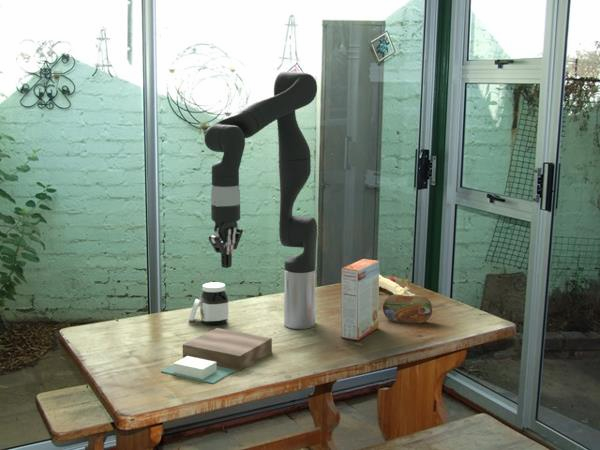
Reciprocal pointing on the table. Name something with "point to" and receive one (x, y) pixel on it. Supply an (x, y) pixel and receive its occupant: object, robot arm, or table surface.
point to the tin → (407, 308)
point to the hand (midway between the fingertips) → (226, 267)
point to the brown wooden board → (229, 348)
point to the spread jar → (212, 304)
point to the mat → (211, 378)
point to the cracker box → (359, 299)
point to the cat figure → (394, 286)
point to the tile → (194, 367)
